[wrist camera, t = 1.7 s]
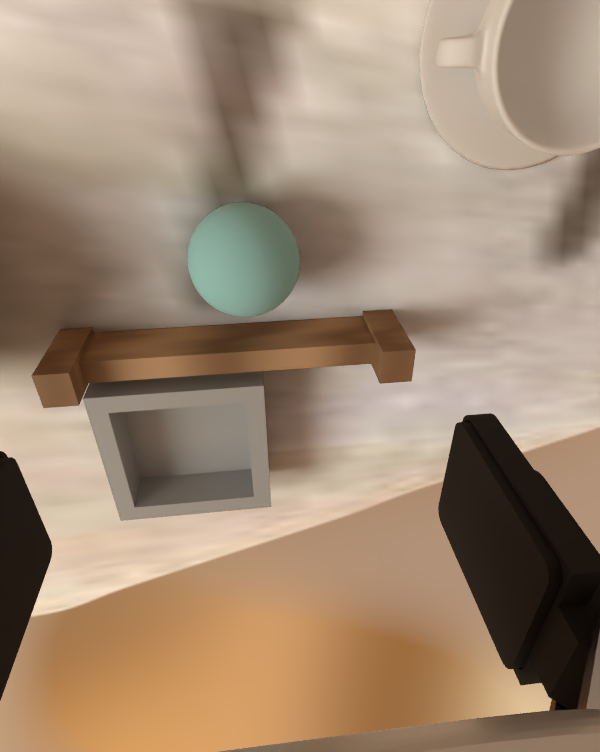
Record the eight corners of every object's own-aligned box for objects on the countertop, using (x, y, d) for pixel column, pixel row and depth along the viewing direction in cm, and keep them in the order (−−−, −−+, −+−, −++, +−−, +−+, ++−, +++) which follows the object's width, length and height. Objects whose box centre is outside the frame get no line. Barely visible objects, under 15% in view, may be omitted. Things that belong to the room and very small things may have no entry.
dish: (261, 355, 28) (263, 385, 26) (268, 472, 33) (271, 506, 31) (96, 366, 27) (82, 398, 25) (129, 484, 32) (120, 520, 30)
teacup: (681, -125, 19) (797, -170, 15) (609, 157, 24) (680, 178, 21) (423, -107, 18) (474, -149, 14) (409, 177, 24) (443, 202, 20)
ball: (293, 188, 23) (305, 218, 19) (295, 287, 26) (306, 333, 22) (185, 192, 23) (173, 223, 19) (198, 293, 26) (191, 340, 22)
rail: (391, 309, 27) (415, 349, 24) (388, 338, 28) (411, 381, 25) (60, 329, 26) (31, 375, 22) (69, 359, 27) (43, 407, 23)
